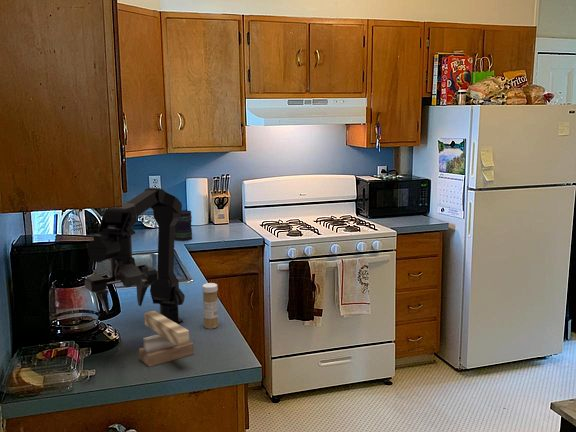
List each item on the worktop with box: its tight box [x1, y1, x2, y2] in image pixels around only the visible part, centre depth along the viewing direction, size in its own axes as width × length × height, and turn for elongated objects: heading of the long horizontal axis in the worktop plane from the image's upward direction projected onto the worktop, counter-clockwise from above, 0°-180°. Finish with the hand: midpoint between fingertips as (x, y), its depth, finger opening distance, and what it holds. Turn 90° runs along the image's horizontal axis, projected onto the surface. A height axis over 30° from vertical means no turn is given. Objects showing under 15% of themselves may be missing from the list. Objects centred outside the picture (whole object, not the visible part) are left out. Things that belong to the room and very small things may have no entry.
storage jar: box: [174, 209, 193, 242], centre depth 302 cm, size 10×10×15 cm
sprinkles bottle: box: [201, 282, 219, 330], centre depth 174 cm, size 5×5×13 cm
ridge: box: [138, 327, 195, 368], centre depth 152 cm, size 6×13×6 cm, turn 129°
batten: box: [143, 310, 190, 346], centre depth 151 cm, size 20×3×4 cm, turn 39°
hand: (124, 309), depth 155 cm, fingers open, 9 cm apart
